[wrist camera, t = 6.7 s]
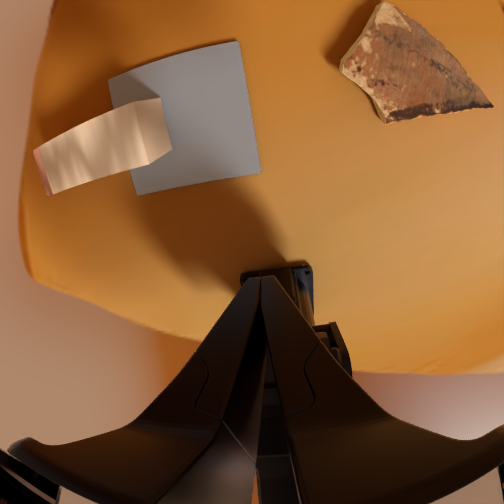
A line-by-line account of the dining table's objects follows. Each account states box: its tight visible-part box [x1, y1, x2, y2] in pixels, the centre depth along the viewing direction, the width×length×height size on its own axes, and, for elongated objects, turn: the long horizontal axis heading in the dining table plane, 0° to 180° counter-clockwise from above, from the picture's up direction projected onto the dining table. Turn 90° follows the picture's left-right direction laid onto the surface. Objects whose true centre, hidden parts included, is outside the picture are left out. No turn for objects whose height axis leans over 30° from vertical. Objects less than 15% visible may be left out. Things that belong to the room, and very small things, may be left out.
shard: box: [339, 1, 494, 124], centre depth 15 cm, size 13×9×2 cm
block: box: [33, 98, 172, 196], centre depth 16 cm, size 4×4×10 cm
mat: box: [107, 41, 261, 196], centre depth 17 cm, size 10×10×1 cm
